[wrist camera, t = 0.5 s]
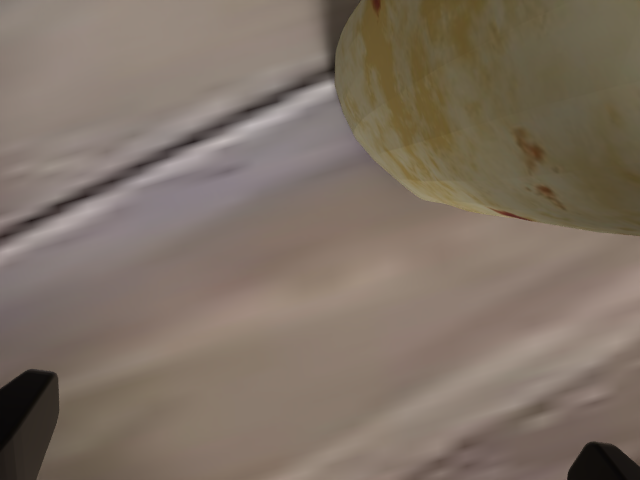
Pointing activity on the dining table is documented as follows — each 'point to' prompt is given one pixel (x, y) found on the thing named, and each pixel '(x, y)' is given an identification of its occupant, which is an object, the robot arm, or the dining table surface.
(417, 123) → the food model
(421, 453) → the dining table surface
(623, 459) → the robot arm
